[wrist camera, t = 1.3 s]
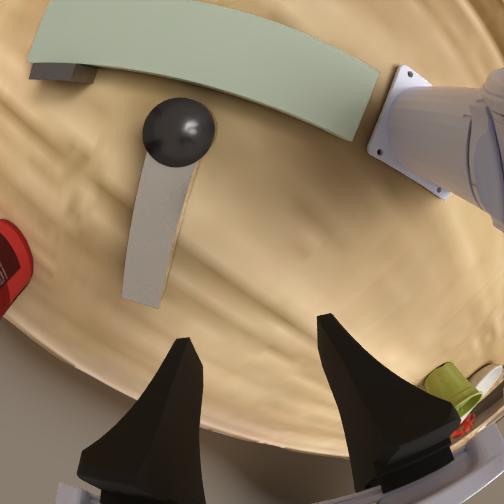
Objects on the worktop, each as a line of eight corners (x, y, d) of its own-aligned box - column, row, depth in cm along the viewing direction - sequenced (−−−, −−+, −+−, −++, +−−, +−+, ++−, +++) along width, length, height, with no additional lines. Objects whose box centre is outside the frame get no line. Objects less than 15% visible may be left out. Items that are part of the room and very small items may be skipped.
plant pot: (404, 392, 35) (422, 434, 27) (443, 352, 31) (469, 395, 24) (433, 391, 37) (451, 426, 30) (467, 355, 33) (490, 391, 26)
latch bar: (167, 94, 15) (154, 90, 12) (225, 109, 16) (223, 108, 13) (126, 275, 21) (113, 298, 19) (171, 288, 22) (163, 314, 19)
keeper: (97, 68, 14) (75, 63, 11) (92, 83, 14) (70, 81, 11) (57, 65, 13) (33, 62, 10) (53, 80, 13) (28, 79, 11)
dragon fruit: (470, 398, 49) (433, 418, 54) (475, 407, 42) (435, 428, 47) (476, 421, 46) (440, 439, 50) (481, 431, 39) (441, 452, 43)
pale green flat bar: (366, 74, 15) (379, 72, 13) (340, 138, 17) (351, 141, 16) (64, 4, 10) (51, -1, 8) (40, 64, 12) (26, 62, 11)
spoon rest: (489, 351, 35) (506, 376, 29) (499, 359, 39) (513, 380, 32) (406, 424, 44) (416, 449, 38) (428, 423, 48) (437, 444, 41)
